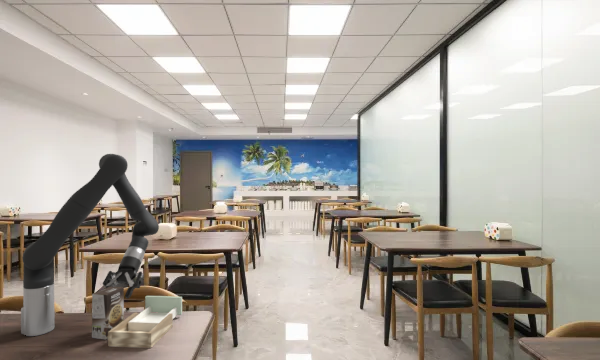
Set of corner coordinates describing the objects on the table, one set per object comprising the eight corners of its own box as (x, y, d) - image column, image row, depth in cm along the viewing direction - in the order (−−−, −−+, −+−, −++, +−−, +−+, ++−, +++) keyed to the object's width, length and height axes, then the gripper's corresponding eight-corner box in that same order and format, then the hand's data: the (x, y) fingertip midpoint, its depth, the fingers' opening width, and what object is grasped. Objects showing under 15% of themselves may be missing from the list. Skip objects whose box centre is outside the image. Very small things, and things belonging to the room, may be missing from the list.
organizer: (108, 346, 118) (108, 331, 118) (134, 325, 134) (134, 312, 134) (151, 348, 117) (151, 333, 117) (172, 326, 133) (172, 313, 133)
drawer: (124, 330, 127) (124, 311, 127) (146, 312, 143) (146, 295, 143) (164, 331, 126) (164, 312, 126) (182, 314, 142) (182, 296, 142)
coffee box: (106, 340, 122) (106, 294, 122) (91, 338, 123) (91, 293, 123) (124, 328, 131) (124, 286, 131) (110, 327, 132) (109, 285, 132)
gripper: (111, 254, 141) (93, 292, 130) (145, 255, 140) (130, 293, 129) (119, 264, 146) (102, 301, 135) (152, 265, 145) (137, 302, 134)
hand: (116, 297), depth 132 cm, fingers open, 8 cm apart
